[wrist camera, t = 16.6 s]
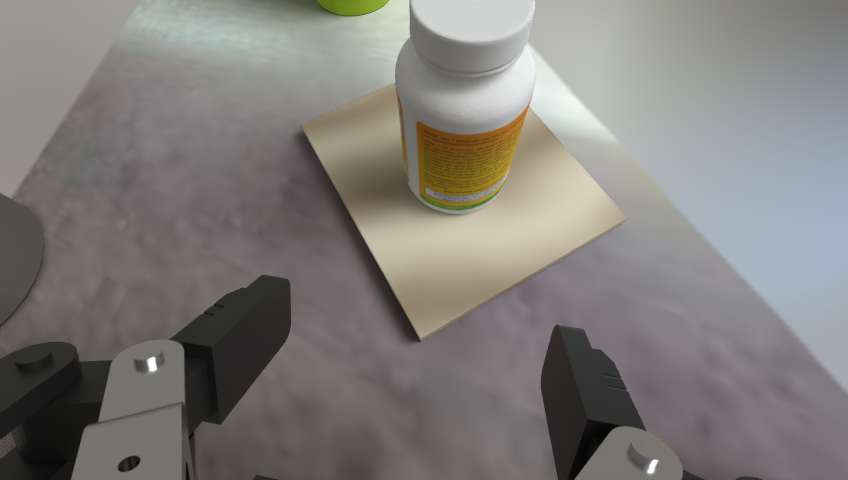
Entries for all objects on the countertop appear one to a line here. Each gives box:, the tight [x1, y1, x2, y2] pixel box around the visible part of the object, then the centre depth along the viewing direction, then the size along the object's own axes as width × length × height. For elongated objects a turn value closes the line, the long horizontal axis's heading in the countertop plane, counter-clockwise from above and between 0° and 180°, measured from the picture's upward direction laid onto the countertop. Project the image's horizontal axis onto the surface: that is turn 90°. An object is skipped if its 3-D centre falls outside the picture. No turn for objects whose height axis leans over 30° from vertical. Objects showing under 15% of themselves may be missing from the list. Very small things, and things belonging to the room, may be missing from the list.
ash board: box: [301, 83, 627, 342], centre depth 22 cm, size 14×12×1 cm
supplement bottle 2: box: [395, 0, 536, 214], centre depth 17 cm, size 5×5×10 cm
